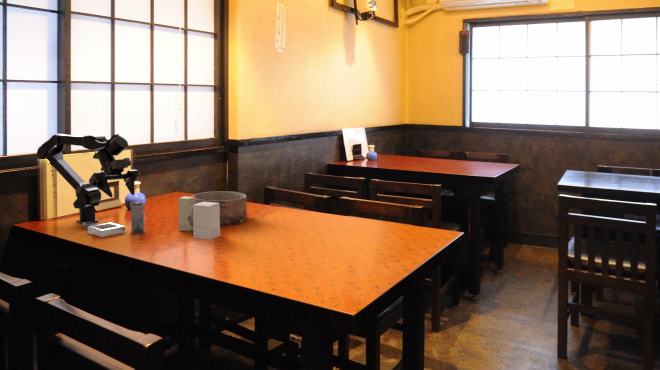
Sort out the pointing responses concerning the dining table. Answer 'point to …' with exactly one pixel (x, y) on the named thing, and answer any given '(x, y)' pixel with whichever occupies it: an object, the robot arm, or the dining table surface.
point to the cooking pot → (226, 205)
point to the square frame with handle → (103, 229)
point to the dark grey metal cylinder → (137, 218)
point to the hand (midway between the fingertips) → (122, 195)
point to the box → (186, 213)
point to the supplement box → (206, 220)
